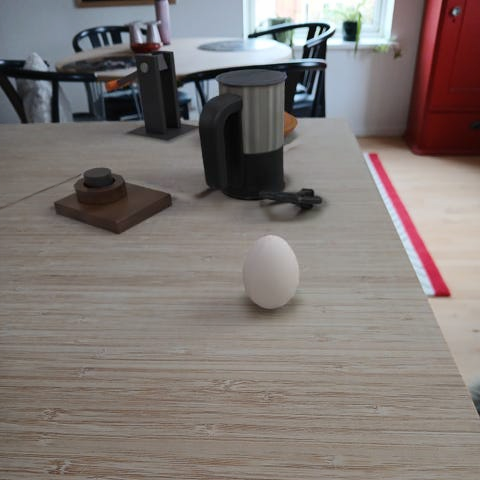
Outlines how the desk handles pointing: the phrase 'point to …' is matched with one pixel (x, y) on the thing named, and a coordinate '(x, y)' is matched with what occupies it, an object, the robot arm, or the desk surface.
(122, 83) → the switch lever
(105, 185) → the stop button
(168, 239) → the desk surface
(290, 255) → the egg
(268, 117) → the milk frother
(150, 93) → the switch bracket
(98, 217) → the brown button base
